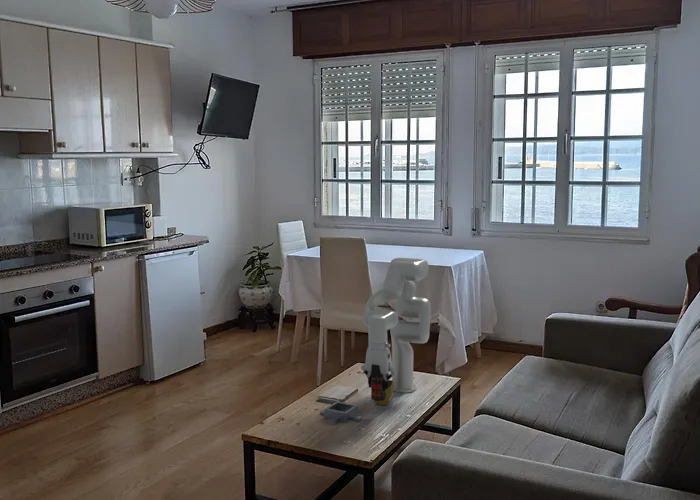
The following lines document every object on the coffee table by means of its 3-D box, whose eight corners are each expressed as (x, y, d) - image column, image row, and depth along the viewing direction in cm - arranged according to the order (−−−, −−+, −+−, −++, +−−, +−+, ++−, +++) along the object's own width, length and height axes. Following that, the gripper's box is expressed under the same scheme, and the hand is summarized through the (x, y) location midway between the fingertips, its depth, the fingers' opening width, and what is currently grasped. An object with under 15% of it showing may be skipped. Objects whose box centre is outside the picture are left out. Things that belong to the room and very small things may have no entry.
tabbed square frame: (333, 405, 282) (333, 396, 282) (370, 413, 274) (370, 404, 273) (310, 420, 267) (310, 410, 266) (350, 428, 258) (350, 418, 257)
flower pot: (391, 407, 280) (391, 386, 279) (370, 406, 282) (370, 385, 281) (393, 400, 289) (394, 380, 288) (374, 398, 291) (374, 379, 289)
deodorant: (369, 396, 272) (368, 361, 270) (382, 394, 274) (382, 359, 271) (374, 402, 267) (373, 366, 264) (388, 399, 268) (387, 364, 266)
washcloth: (316, 402, 288) (316, 395, 288) (335, 389, 304) (335, 382, 304) (341, 406, 283) (341, 399, 283) (358, 393, 299) (358, 386, 299)
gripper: (401, 345, 266) (401, 388, 269) (363, 339, 274) (363, 381, 277) (393, 351, 259) (393, 394, 262) (354, 345, 267) (355, 387, 270)
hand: (378, 387), depth 269 cm, fingers closed on deodorant, 5 cm apart
